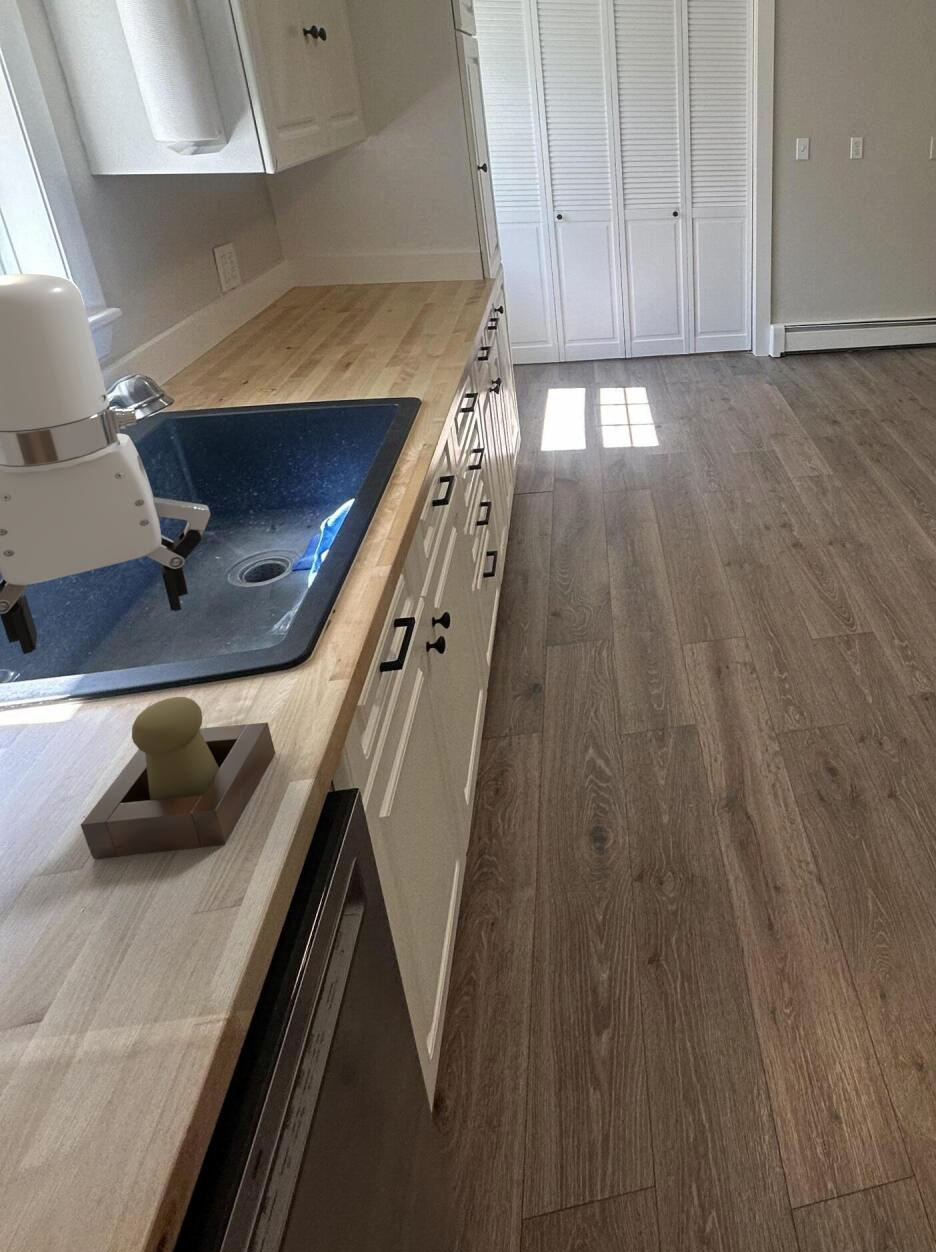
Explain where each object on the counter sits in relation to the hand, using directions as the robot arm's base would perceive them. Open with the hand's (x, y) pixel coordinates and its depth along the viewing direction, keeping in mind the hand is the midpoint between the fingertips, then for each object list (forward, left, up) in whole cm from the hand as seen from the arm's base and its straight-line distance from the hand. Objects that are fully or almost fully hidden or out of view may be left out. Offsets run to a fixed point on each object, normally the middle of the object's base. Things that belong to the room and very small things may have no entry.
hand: (106, 623), depth 67 cm
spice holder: (+2, +1, -21) cm, 21 cm away
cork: (+2, +1, -21) cm, 21 cm away
